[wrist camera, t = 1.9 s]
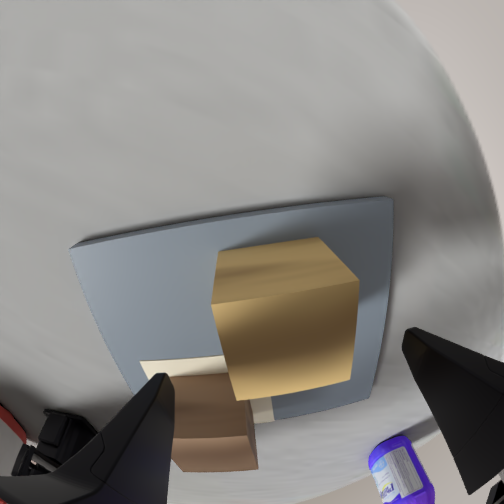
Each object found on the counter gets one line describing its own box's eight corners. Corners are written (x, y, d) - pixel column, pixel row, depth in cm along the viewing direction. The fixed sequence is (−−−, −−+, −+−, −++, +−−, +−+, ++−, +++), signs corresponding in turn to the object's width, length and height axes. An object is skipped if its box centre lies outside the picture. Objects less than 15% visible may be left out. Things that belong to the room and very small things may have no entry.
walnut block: (253, 413, 18) (258, 469, 13) (188, 418, 18) (183, 472, 13) (242, 370, 16) (246, 435, 11) (167, 376, 16) (154, 437, 11)
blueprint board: (365, 389, 19) (369, 398, 18) (157, 418, 19) (154, 427, 18) (384, 196, 14) (394, 199, 13) (76, 243, 14) (67, 249, 13)
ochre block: (320, 319, 15) (349, 379, 10) (234, 333, 15) (236, 400, 10) (318, 236, 13) (359, 280, 9) (218, 251, 13) (210, 304, 9)
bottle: (372, 442, 24) (415, 552, 7) (411, 426, 24) (460, 526, 8) (361, 463, 26) (393, 557, 10) (397, 450, 26) (434, 537, 10)
